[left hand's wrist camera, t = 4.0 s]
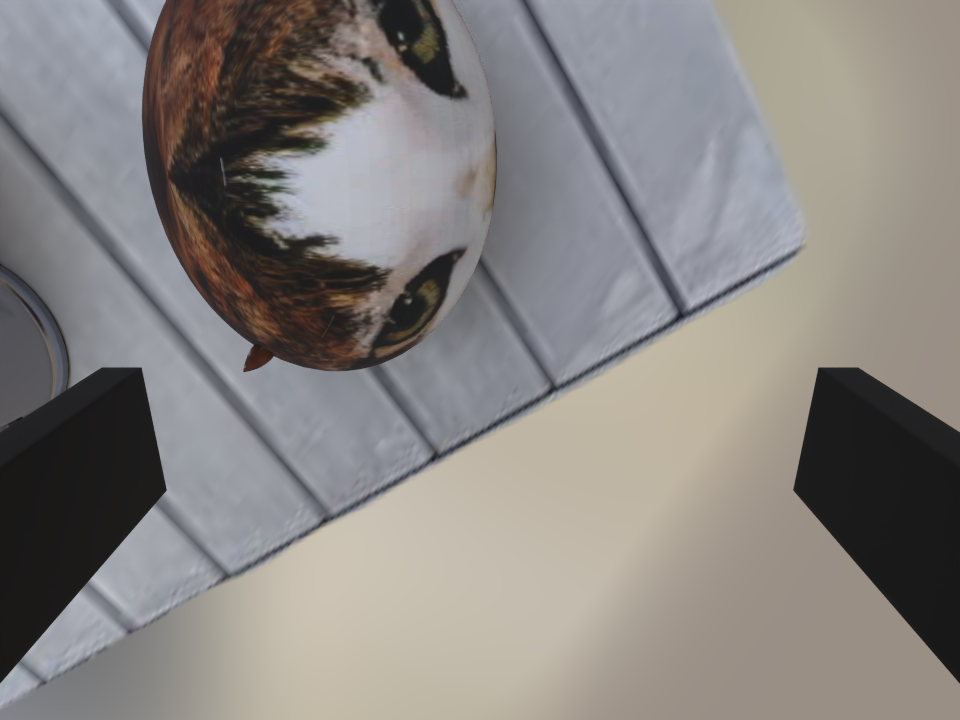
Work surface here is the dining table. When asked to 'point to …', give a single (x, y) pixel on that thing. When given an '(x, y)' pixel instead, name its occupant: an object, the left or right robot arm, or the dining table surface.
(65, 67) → the dining table surface
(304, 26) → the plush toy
